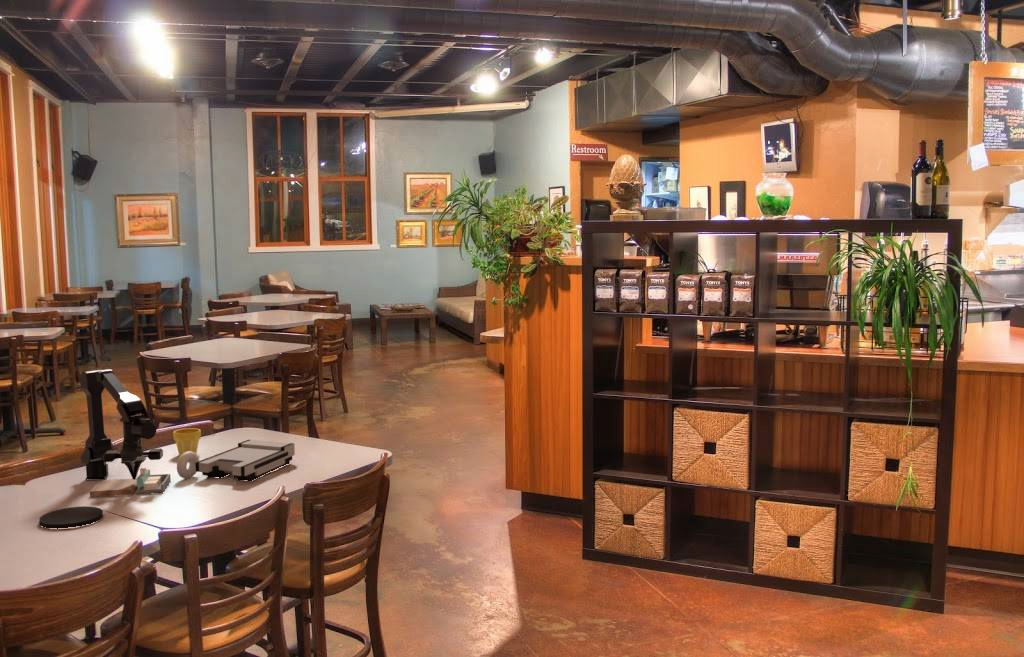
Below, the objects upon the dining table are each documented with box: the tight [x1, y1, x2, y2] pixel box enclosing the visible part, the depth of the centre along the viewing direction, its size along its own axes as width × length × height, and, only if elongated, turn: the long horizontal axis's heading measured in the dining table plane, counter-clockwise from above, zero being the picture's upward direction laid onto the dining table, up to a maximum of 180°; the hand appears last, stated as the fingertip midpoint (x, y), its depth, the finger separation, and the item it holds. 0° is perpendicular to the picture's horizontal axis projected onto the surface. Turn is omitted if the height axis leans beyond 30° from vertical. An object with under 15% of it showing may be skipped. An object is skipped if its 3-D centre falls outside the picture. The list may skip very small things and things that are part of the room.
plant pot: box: [172, 427, 202, 457], centre depth 362 cm, size 10×10×10 cm
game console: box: [195, 439, 296, 482], centre depth 336 cm, size 21×32×8 cm, turn 161°
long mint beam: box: [136, 467, 151, 487], centre depth 314 cm, size 2×12×5 cm, turn 11°
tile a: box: [144, 480, 159, 489], centre depth 312 cm, size 4×4×2 cm
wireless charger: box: [38, 505, 104, 529], centre depth 280 cm, size 18×18×2 cm
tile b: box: [147, 476, 162, 486], centre depth 317 cm, size 4×4×2 cm
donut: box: [176, 451, 200, 480], centre depth 327 cm, size 10×4×10 cm, turn 159°
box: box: [134, 473, 172, 495], centre depth 315 cm, size 9×14×3 cm, turn 11°
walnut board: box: [89, 477, 139, 498], centre depth 313 cm, size 14×14×2 cm
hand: (134, 479), depth 313 cm, fingers closed
